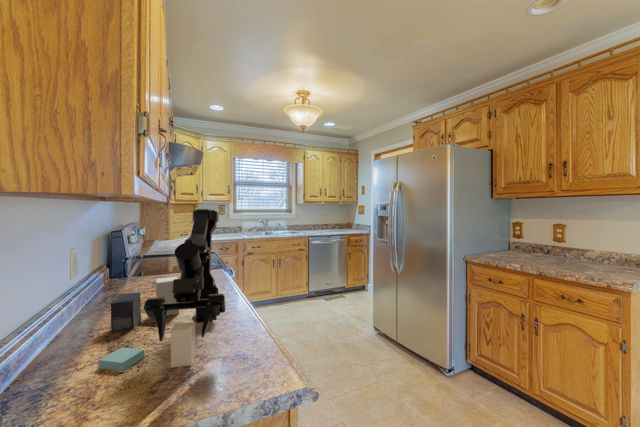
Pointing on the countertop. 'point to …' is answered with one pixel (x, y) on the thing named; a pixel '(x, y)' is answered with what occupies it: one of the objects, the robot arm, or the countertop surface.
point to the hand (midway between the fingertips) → (181, 338)
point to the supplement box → (166, 292)
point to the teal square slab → (121, 359)
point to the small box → (126, 312)
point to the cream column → (182, 344)
